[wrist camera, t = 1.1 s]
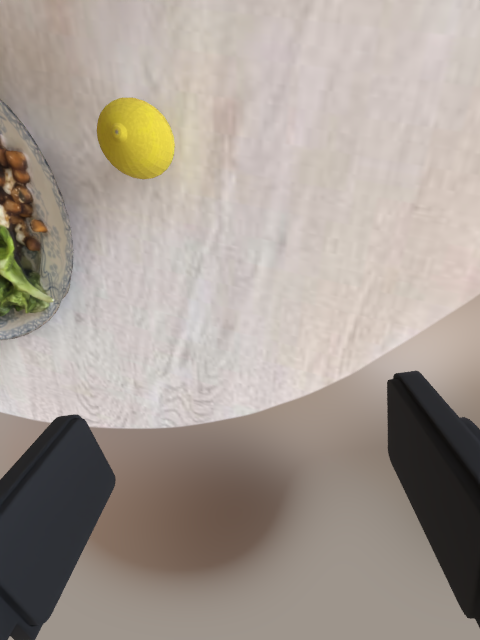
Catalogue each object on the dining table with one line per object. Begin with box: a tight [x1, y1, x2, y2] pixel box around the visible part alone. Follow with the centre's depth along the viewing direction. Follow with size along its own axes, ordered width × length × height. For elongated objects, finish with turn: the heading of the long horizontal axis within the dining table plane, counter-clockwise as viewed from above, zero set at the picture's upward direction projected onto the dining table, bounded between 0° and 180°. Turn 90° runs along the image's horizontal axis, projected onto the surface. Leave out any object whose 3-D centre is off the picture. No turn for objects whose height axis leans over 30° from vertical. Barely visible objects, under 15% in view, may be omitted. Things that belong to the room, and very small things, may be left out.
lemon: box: [97, 98, 175, 179], centre depth 24 cm, size 6×6×8 cm
